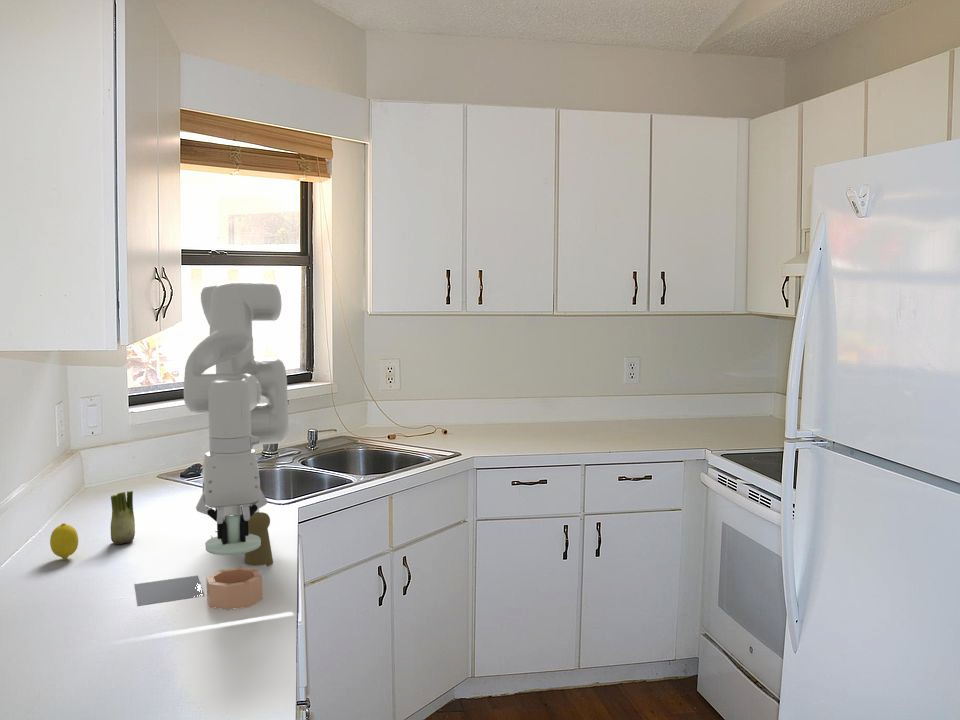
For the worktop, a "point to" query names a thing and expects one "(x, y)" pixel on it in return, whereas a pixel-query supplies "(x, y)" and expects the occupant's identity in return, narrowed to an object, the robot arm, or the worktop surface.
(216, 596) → the bowl
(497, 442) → the worktop surface
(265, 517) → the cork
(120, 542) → the fennel bulb
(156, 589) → the mat
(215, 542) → the lid
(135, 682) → the worktop surface
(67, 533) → the lemon
